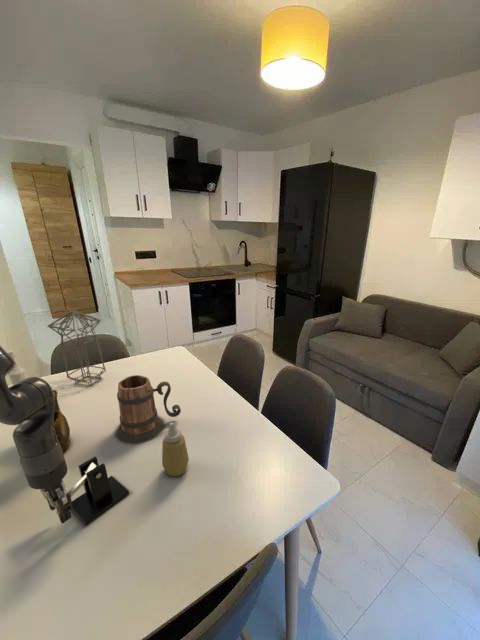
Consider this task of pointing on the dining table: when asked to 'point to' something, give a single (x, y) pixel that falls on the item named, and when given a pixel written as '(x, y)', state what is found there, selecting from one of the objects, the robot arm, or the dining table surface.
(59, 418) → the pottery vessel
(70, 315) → the geometric lantern
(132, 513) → the dining table surface
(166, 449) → the squeeze bottle
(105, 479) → the bracket
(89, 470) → the lever
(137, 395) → the tankard
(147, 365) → the dining table surface
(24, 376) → the bottle
